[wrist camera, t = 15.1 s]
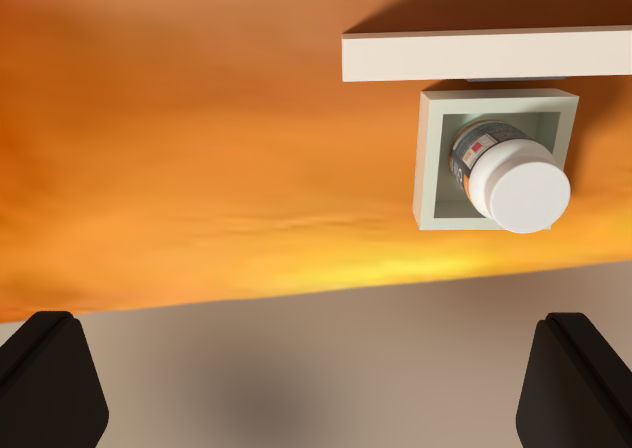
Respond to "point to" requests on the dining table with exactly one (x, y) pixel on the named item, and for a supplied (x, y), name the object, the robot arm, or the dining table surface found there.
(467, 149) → the pill bottle
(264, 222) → the dining table surface
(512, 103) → the pale green square tray
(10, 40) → the dining table surface
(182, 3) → the dining table surface
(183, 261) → the dining table surface
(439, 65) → the board
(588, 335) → the robot arm
